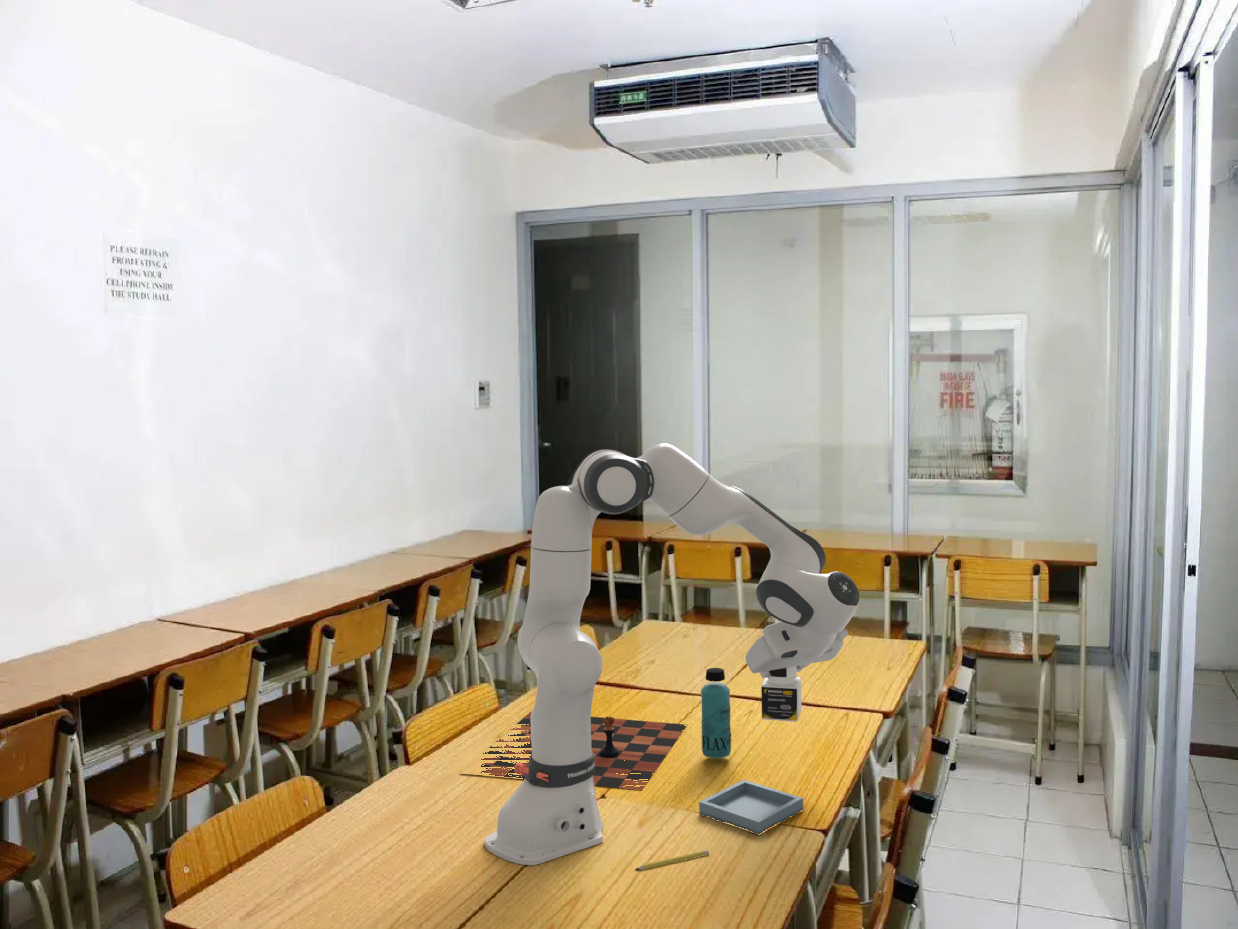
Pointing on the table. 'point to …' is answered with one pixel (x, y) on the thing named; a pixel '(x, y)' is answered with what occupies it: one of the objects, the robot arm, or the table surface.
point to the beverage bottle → (716, 716)
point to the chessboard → (609, 750)
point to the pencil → (672, 860)
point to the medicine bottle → (781, 695)
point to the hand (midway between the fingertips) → (779, 672)
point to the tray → (751, 806)
